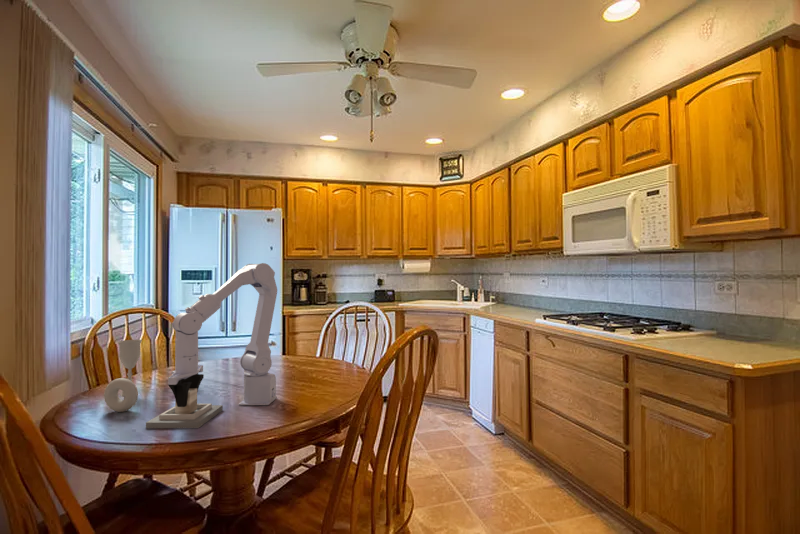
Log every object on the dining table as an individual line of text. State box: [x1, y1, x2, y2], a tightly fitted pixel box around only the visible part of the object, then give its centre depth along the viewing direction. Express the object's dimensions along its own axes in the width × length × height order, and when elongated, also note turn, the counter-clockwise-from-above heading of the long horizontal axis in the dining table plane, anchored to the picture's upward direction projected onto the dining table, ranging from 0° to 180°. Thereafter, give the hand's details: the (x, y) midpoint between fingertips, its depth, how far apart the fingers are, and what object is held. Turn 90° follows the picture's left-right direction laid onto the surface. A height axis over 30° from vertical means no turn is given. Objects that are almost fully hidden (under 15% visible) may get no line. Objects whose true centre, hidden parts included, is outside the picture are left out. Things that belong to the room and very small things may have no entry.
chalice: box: [117, 339, 143, 397], centre depth 137 cm, size 7×7×18 cm
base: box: [145, 403, 223, 429], centre depth 113 cm, size 14×14×3 cm
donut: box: [103, 377, 139, 413], centre depth 119 cm, size 10×4×10 cm, turn 84°
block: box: [174, 388, 198, 414], centre depth 113 cm, size 4×4×6 cm
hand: (186, 403), depth 113 cm, fingers open, 4 cm apart
